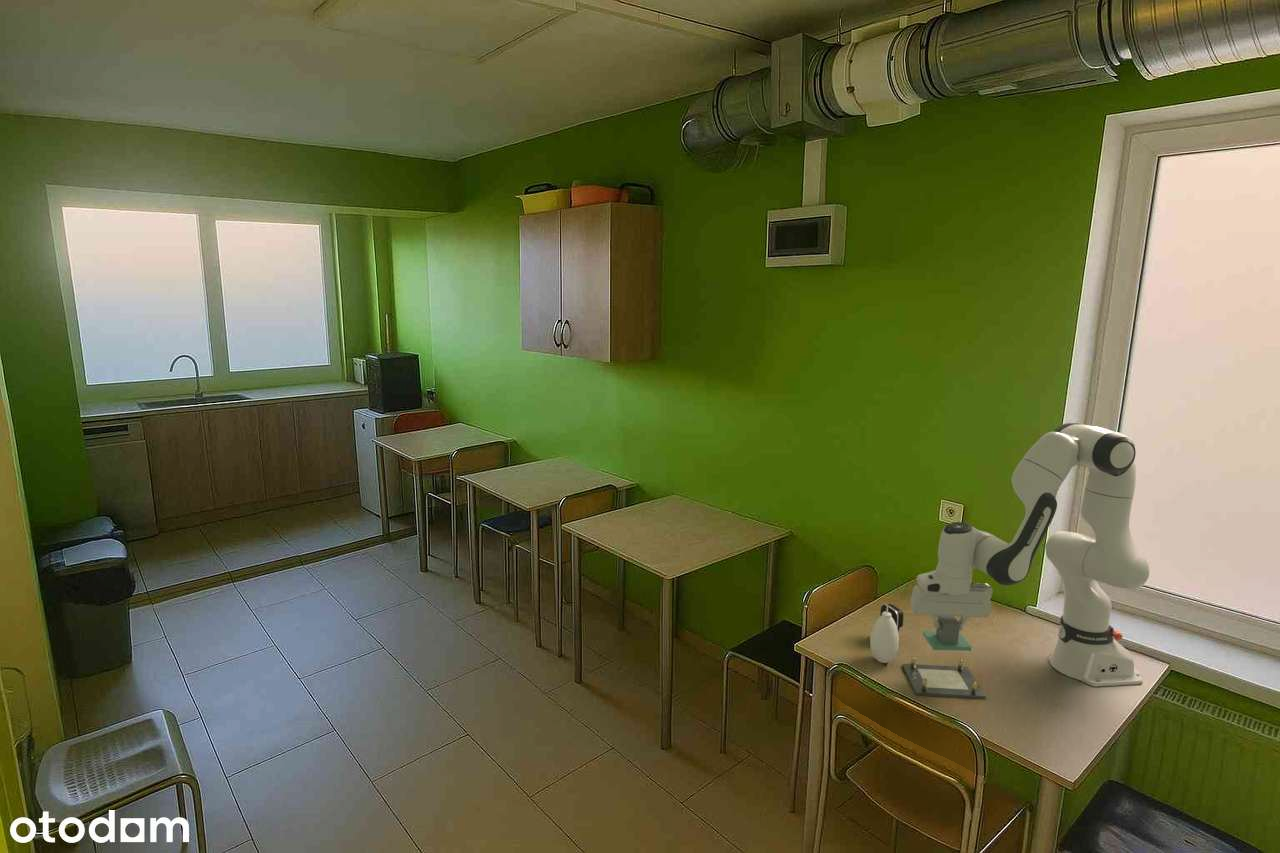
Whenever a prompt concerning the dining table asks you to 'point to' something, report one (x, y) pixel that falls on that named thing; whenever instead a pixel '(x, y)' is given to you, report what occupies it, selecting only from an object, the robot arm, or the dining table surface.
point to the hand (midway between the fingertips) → (947, 628)
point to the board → (946, 646)
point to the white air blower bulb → (884, 638)
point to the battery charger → (894, 614)
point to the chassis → (942, 680)
